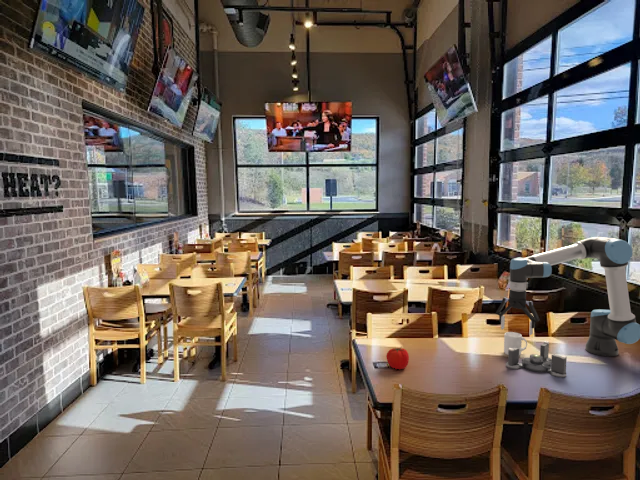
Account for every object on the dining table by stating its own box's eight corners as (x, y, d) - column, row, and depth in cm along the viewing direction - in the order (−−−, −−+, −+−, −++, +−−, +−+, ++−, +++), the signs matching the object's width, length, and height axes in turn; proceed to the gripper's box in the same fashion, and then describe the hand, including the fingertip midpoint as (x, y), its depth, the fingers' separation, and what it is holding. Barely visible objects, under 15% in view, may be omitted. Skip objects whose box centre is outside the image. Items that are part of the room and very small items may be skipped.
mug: (530, 356, 231) (531, 337, 230) (507, 356, 231) (508, 337, 230) (523, 350, 239) (523, 331, 238) (501, 350, 240) (501, 332, 238)
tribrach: (548, 358, 228) (548, 347, 227) (568, 377, 204) (569, 365, 204) (499, 357, 230) (499, 346, 230) (514, 376, 207) (514, 364, 206)
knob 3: (550, 369, 210) (551, 353, 209) (553, 368, 211) (554, 352, 210) (563, 374, 205) (564, 357, 204) (565, 373, 206) (566, 356, 205)
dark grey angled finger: (514, 361, 221) (515, 346, 220) (518, 362, 219) (519, 347, 218) (507, 364, 217) (508, 348, 216) (511, 365, 216) (512, 349, 215)
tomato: (410, 363, 224) (410, 344, 223) (407, 373, 212) (407, 353, 211) (388, 361, 227) (388, 342, 226) (384, 371, 215) (384, 351, 214)
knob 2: (544, 360, 222) (544, 344, 221) (539, 359, 223) (540, 343, 222) (548, 357, 226) (549, 341, 225) (544, 355, 227) (544, 340, 226)
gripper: (489, 287, 220) (488, 328, 222) (542, 294, 203) (541, 338, 205) (495, 285, 225) (494, 324, 227) (547, 292, 208) (545, 334, 210)
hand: (516, 331), depth 216 cm, fingers open, 13 cm apart
